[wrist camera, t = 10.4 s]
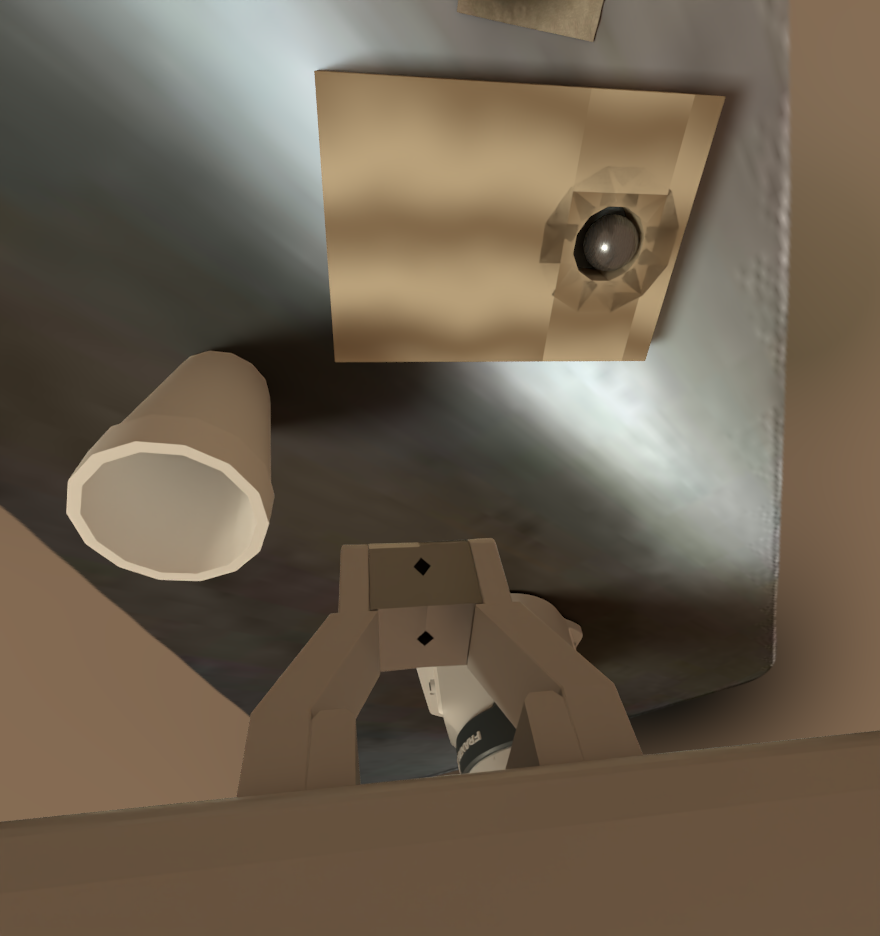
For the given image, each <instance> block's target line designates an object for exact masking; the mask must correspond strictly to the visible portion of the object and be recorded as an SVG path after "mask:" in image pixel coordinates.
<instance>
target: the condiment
mask: <svg viewBox="0 0 880 936" xmlns="http://www.w3.org/2000/svg"><path fill="white" fill-rule="evenodd" d="M602 4H603V0H458V7H457V12H459V13H464V14H468V15H473V16H477V17H481V18H486V19H490V20H495V21H500V22H504V23H508V24H513V25H517V26H522V27H527V28H531V29H537V30H539V31H545V32H550V33H554V34H559V35H563V36H568V37H573V38H578V39H582V40H587V41H591V42H593V40H594V36H595V32H596V28H597V25H598V21H599V17H600V13H601V8H602Z"/></svg>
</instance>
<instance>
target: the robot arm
mask: <svg viewBox="0 0 880 936" xmlns="http://www.w3.org/2000/svg"><path fill="white" fill-rule="evenodd" d="M582 637H583V634H582V630H581V627H580V626H579V625H578V624H577V623H575V622H572V621H570V620H567V619H565V618H564V617H563V616H562V615H561V614H560V613H559V611H558V610H557V609H556V608H555V607H554V606H553V605H552V604H550V603H549V602H547V601H546V600H544V599H541V598H539V597H536V596H532V595H527V594H519V593H510V591H509V588H508V584H507V581H506V578H505V574H504V571H503V567H502V564H501V560H500V557H499V553H498V550H497V546H496V543H495V541H494V540H493V539H492V538H483V539H468V540H450V541H432V542H418V543H385V544H369V551H368V545H342V548H341V559H340V585H339V612H338V613H332V614H330V615H329V616H328V618H327V619H326V620H325V621H324V623H323V624H322V625H321V626H320V628H319V629H318V630H317V631H316V633H315V634H314V635H313V636H312V638H311V639H310V640H309V641H308V643H307V644H306V645H305V646H304V648H303V649H302V650H301V651H300V653H299V654H298V655H297V656H296V658H295V659H294V660H293V662H292V663H291V664H290V665H289V667H288V668H287V669H286V670H285V672H284V673H283V674H282V675H281V677H280V678H279V679H278V680H277V682H276V683H275V684H274V685H273V687H272V688H271V689H270V690H269V692H268V693H267V694H266V695H265V697H264V698H263V699H262V700H261V702H260V703H259V704H258V705H257V707H256V708H255V709H254V711H253V712H252V713H251V716H250V722H249V728H248V734H247V740H246V745H245V751H244V758H243V763H242V769H241V775H240V781H239V786H238V792H237V797H236V798H225V799H216V800H206V801H197V802H187V803H177V804H168V805H158V806H148V807H139V808H129V809H120V810H110V811H101V812H91V813H81V814H72V815H62V816H52V817H43V818H33V819H23V820H14V821H4V822H0V936H880V731H871V732H861V733H852V734H842V735H833V736H824V737H813V738H804V739H795V740H785V741H775V742H766V743H756V744H746V745H737V746H728V747H718V748H708V749H698V750H689V751H679V752H670V753H660V754H651V755H643V753H642V751H641V748H640V746H639V744H638V741H637V739H636V737H635V734H634V731H633V729H632V727H631V724H630V722H629V719H628V717H627V714H626V712H625V709H624V707H623V704H622V702H621V699H620V697H619V695H618V692H617V690H616V687H615V685H614V683H613V682H611V681H610V680H609V679H608V678H607V677H606V676H605V675H603V674H602V673H601V672H600V671H599V670H598V669H597V668H595V667H594V666H593V665H592V664H591V663H590V662H589V661H587V660H586V659H585V658H584V657H583V656H582V655H581V654H579V653H578V652H577V651H576V647H577V645H578V644H579V642H580V641H581V639H582ZM411 668H416V669H417V672H418V675H419V678H420V682H421V685H422V688H423V692H424V695H425V698H426V701H427V705H428V708H429V711H430V713H431V714H433V715H436V716H440V717H444V721H445V725H446V728H447V732H448V735H449V738H450V742H451V744H452V745H453V746H454V747H456V751H457V756H458V757H457V762H458V767H459V771H460V774H456V775H446V776H437V777H427V778H418V779H408V780H398V781H389V782H379V783H370V784H360V771H359V758H358V745H357V732H356V717H357V716H358V714H359V712H360V710H361V708H362V707H363V705H364V703H365V701H366V699H367V697H368V696H369V694H370V692H371V690H372V688H373V687H374V685H375V683H376V681H377V679H378V677H379V676H380V672H383V671H392V670H402V669H411Z"/></svg>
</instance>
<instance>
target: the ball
mask: <svg viewBox="0 0 880 936" xmlns="http://www.w3.org/2000/svg"><path fill="white" fill-rule="evenodd" d="M637 247H638V232H637V229H636V227H635V226H634V224H633V223H632V222H631V221H630V220H629V219H628V218H626V217H624V216H621V215H615V214H614V215H607V216H604V217H602V218H600V219H598V220H597V221H595V222H594V223H593V224H592V225H591V227H590V228H589V229H588V231H587V233H586V235H585V238H584V246H583V248H584V254H585V257H586V259H587V260H588V262H589V263H590V264H591V265H592V266H593V267H595V268H596V269H598V270H601V271H614V270H617V269H620V268H622V267H623V266H625V265H626V264H627V263H629V262H630V260H631V259H632V258H633V256H634V255H635V253H636V250H637Z"/></svg>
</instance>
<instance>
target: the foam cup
mask: <svg viewBox="0 0 880 936" xmlns="http://www.w3.org/2000/svg"><path fill="white" fill-rule="evenodd" d="M273 501H274V491H273V488H272V485H271V402H270V394H269V390H268V387H267V383H266V379H265V378H264V377H263V376H262V375H261V374H260V372H259V371H258V370H257V369H256V368H255V367H254V365H253V364H252V363H250V362H248V361H246V360H244V359H242V358H240V357H238V356H236V355H235V354H233V353H227V352H218V351H206V352H203V353H200V354H197V355H194V356H190V357H189V358H188V359H187V360H185V361H184V362H183V363H182V364H181V365H180V366H179V367H178V368H177V369H176V370H175V371H174V372H173V373H172V374H171V375H170V376H169V377H168V378H167V379H166V380H165V381H164V382H163V383H162V384H161V385H160V386H159V387H158V388H157V389H155V390H154V391H153V392H152V393H151V394H150V395H149V396H148V397H147V398H146V399H145V400H144V401H143V402H142V403H141V404H140V405H139V406H138V407H137V408H136V409H135V410H134V411H133V412H132V413H131V414H130V415H129V416H128V417H127V418H126V419H125V420H124V421H123V422H122V423H121V424H118V425H115V426H111V427H110V428H109V429H108V431H107V432H106V433H105V434H104V435H103V436H102V437H101V438H100V439H99V440H98V441H97V443H96V444H95V445H94V446H93V447H92V448H91V449H90V450H89V451H88V453H87V454H86V455H85V457H84V458H83V460H82V461H81V463H80V464H79V466H78V467H77V468H76V470H75V471H74V473H73V474H72V476H71V477H70V478H69V480H68V490H67V511H66V513H67V515H68V516H69V518H70V520H71V521H72V523H73V524H74V526H75V528H76V529H77V531H78V532H79V534H80V536H81V537H82V539H83V540H84V542H85V544H87V545H88V546H90V547H91V548H92V549H94V550H95V551H97V552H98V553H100V554H101V555H103V556H104V557H105V558H107V559H108V560H110V561H111V562H113V563H114V564H115V565H117V566H118V567H121V568H124V569H127V570H130V571H133V572H137V573H140V574H143V575H146V576H149V577H153V578H156V579H159V580H184V581H202V580H206V579H209V578H213V577H216V576H220V575H223V574H227V573H230V572H234V571H236V570H238V569H239V568H240V567H241V566H242V565H244V564H245V563H246V562H247V561H249V560H250V559H251V558H252V557H253V556H255V555H256V554H257V553H258V552H260V550H261V547H262V544H263V541H264V537H265V534H266V531H267V528H268V525H269V521H270V516H271V511H272V506H273Z"/></svg>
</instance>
